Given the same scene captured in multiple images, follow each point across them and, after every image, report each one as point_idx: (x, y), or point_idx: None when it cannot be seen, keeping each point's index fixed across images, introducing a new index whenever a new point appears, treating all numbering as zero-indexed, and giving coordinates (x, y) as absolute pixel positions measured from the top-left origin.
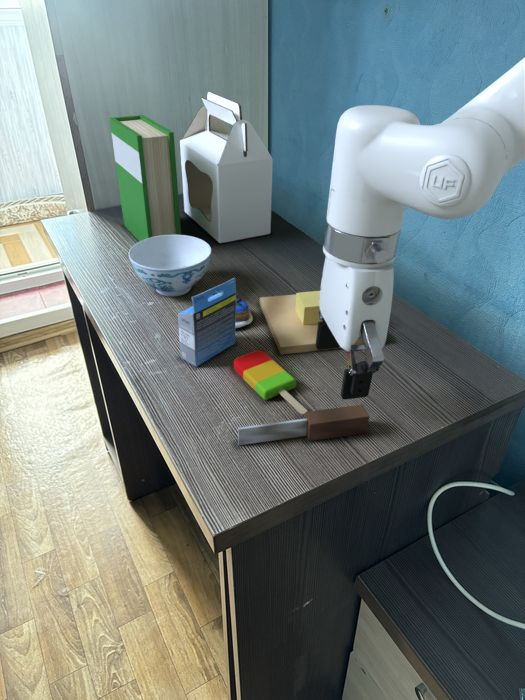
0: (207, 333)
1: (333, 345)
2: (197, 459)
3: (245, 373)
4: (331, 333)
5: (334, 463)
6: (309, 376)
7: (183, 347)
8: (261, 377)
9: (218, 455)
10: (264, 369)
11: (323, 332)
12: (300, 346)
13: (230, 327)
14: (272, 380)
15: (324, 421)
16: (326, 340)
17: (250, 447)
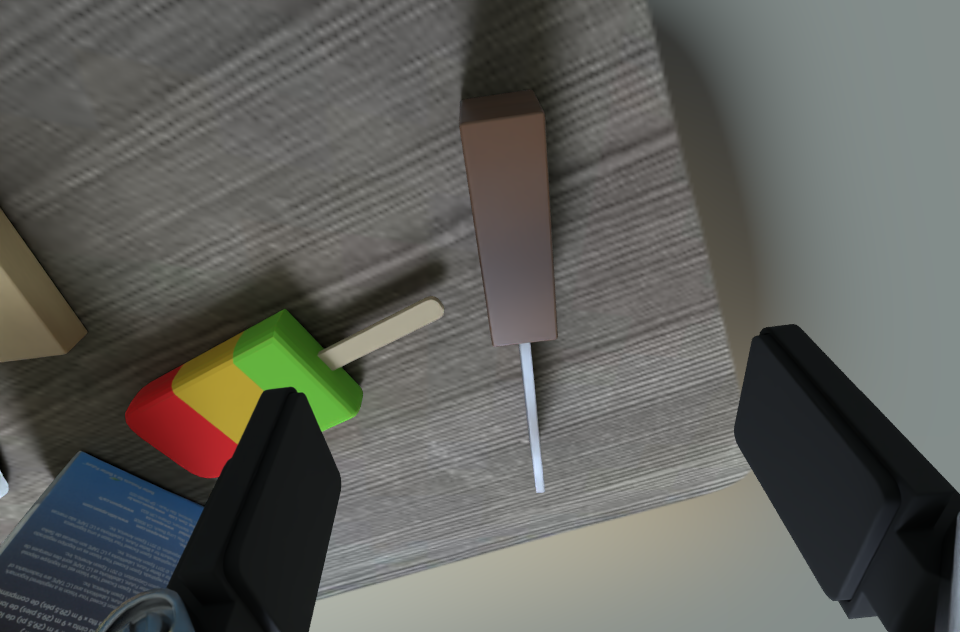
0: None
1: (312, 435)
2: (567, 506)
3: None
4: (294, 536)
5: (653, 235)
6: (199, 249)
7: None
8: None
9: (562, 477)
10: (239, 415)
11: (307, 581)
12: (19, 281)
13: (58, 527)
14: None
15: (550, 296)
16: (316, 505)
17: (547, 424)
